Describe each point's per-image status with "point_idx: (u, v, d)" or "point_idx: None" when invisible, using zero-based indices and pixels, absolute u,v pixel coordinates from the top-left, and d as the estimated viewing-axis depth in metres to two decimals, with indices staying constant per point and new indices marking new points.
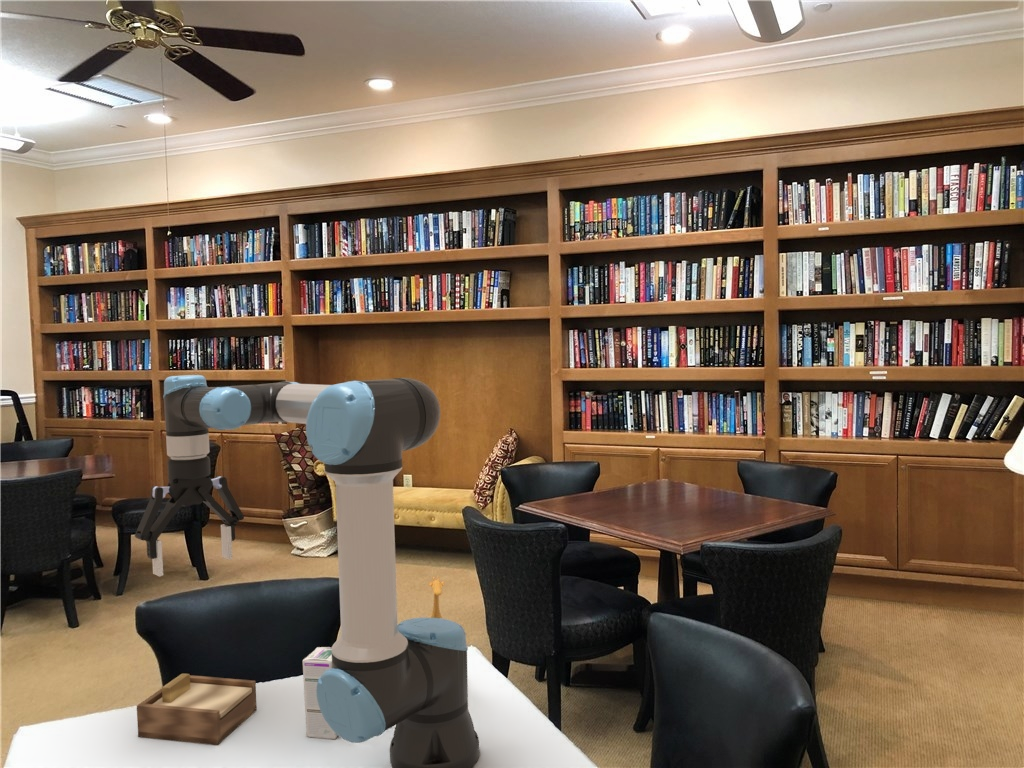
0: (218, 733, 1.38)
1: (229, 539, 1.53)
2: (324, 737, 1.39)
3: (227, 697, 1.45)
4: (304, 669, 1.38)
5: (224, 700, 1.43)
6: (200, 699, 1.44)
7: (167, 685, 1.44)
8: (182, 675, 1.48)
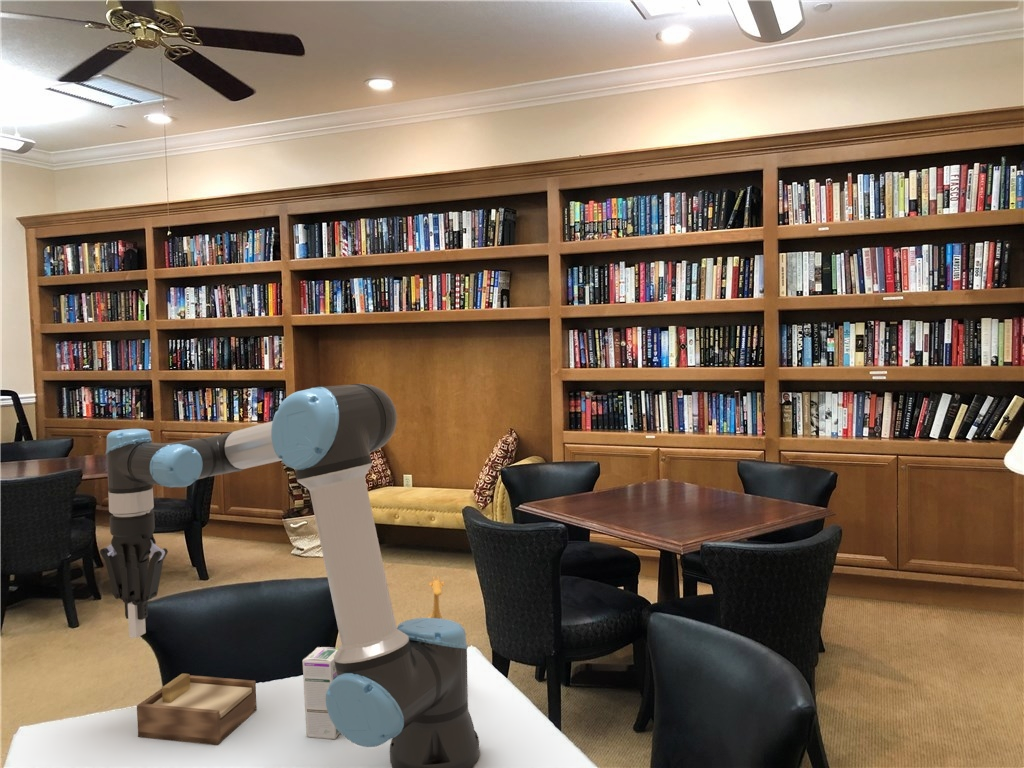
0: (218, 733, 1.38)
1: (133, 617, 1.45)
2: (324, 737, 1.39)
3: (227, 697, 1.45)
4: (304, 669, 1.38)
5: (224, 700, 1.43)
6: (200, 699, 1.44)
7: (167, 685, 1.44)
8: (182, 675, 1.48)
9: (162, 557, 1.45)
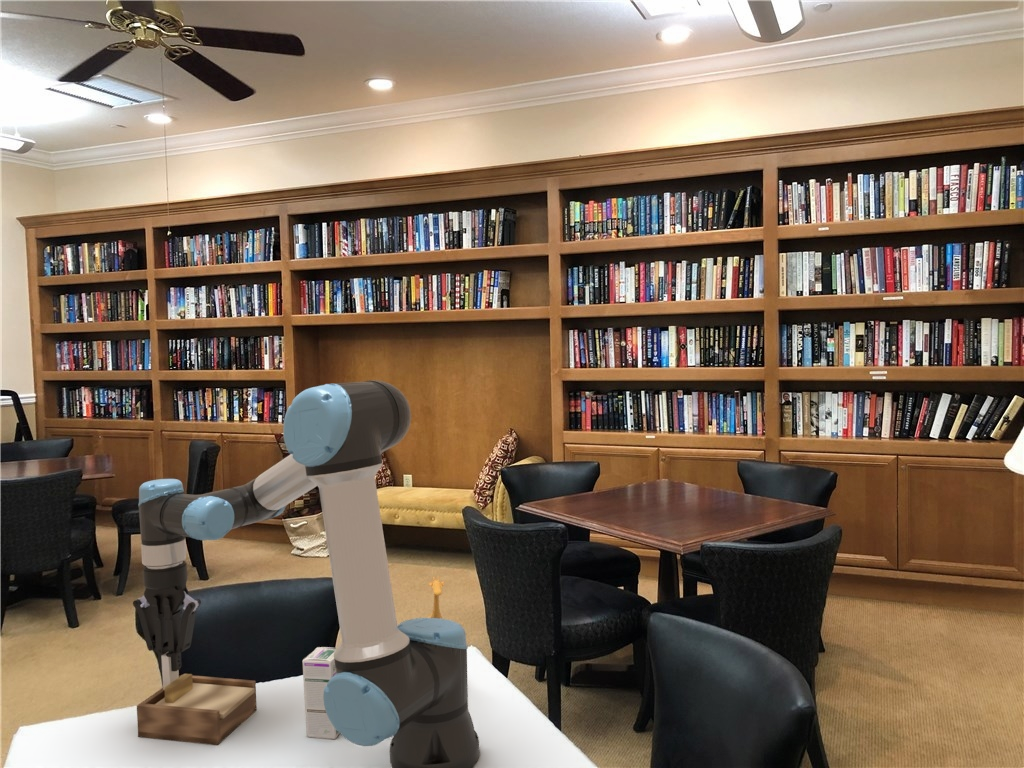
0: (218, 733, 1.38)
1: (167, 669, 1.44)
2: (324, 737, 1.39)
3: (230, 697, 1.44)
4: (304, 669, 1.38)
5: (226, 700, 1.43)
6: (202, 700, 1.44)
7: (169, 685, 1.44)
8: (184, 675, 1.48)
9: (196, 608, 1.44)
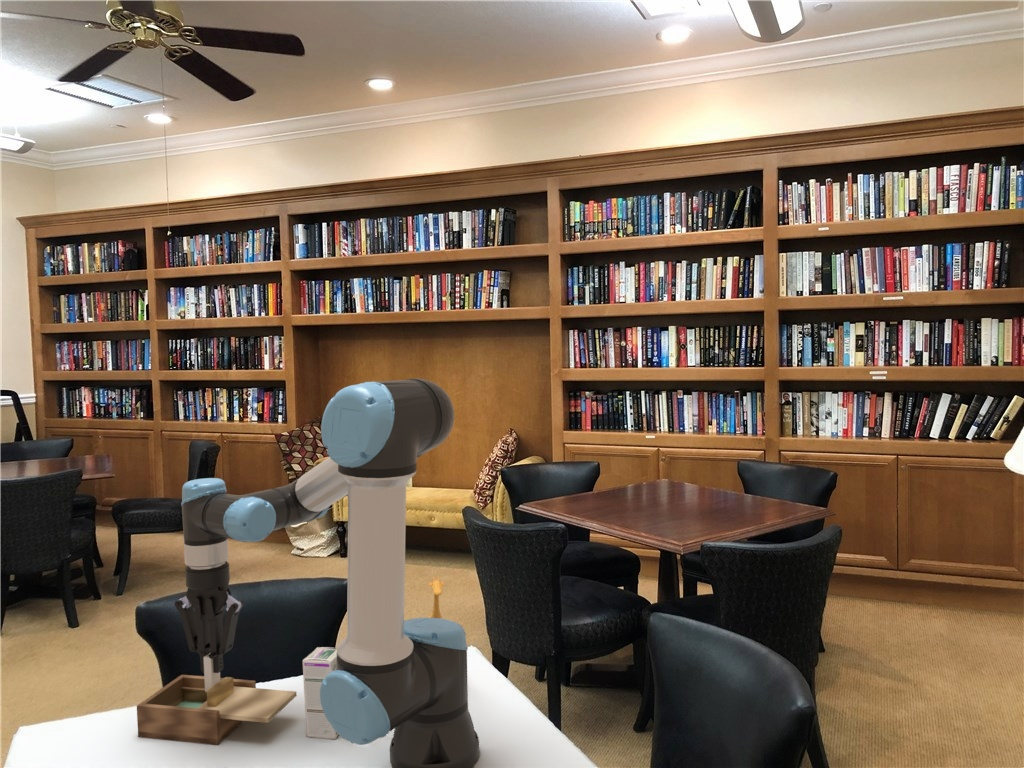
0: (218, 733, 1.38)
1: (209, 670, 1.43)
2: (324, 737, 1.39)
3: (272, 701, 1.43)
4: (304, 669, 1.38)
5: (269, 704, 1.41)
6: (245, 704, 1.42)
7: (212, 689, 1.42)
8: (226, 679, 1.46)
9: (238, 609, 1.42)
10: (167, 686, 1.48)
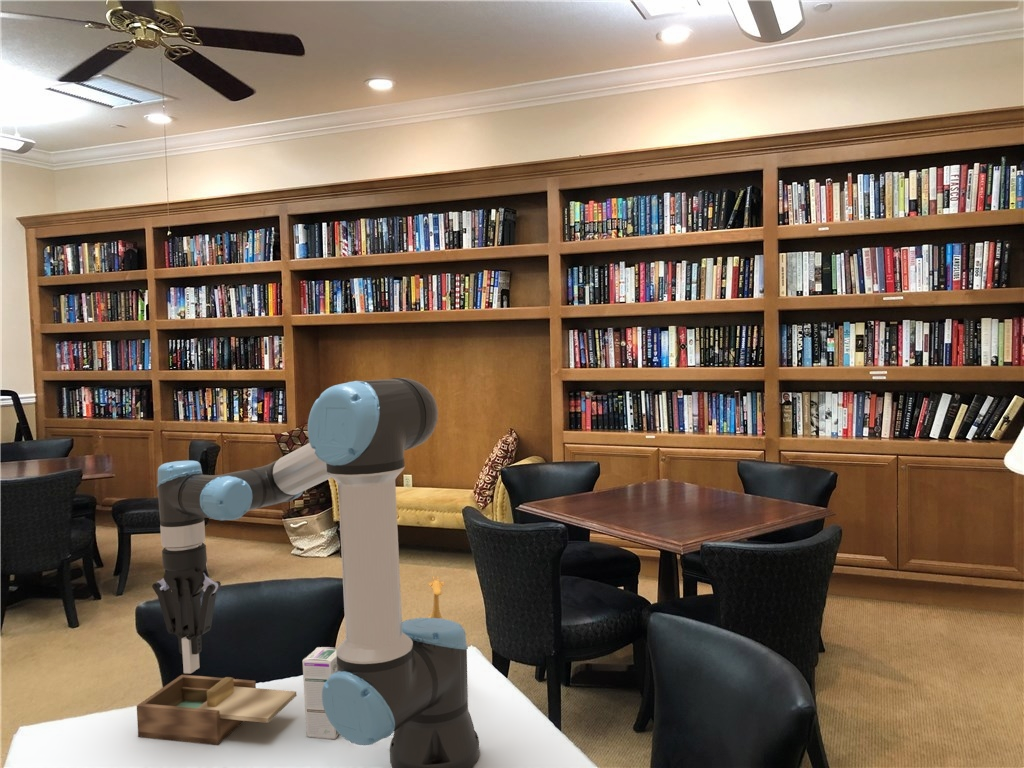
0: (218, 733, 1.38)
1: (187, 652, 1.43)
2: (324, 737, 1.39)
3: (272, 701, 1.43)
4: (304, 669, 1.38)
5: (269, 704, 1.41)
6: (245, 704, 1.42)
7: (212, 689, 1.42)
8: (226, 679, 1.46)
9: (215, 590, 1.43)
10: (167, 686, 1.48)
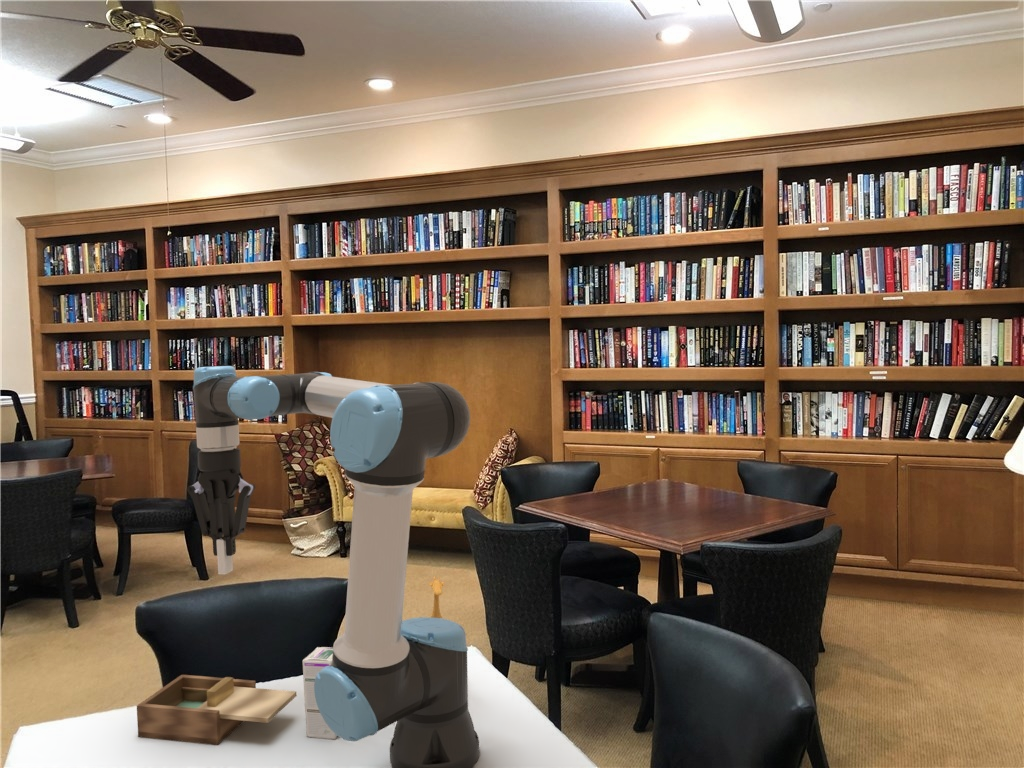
0: (218, 733, 1.38)
1: (222, 553, 1.46)
2: (324, 737, 1.39)
3: (272, 701, 1.43)
4: (304, 669, 1.38)
5: (269, 704, 1.41)
6: (245, 704, 1.42)
7: (212, 689, 1.42)
8: (226, 679, 1.46)
9: (250, 492, 1.46)
10: (167, 686, 1.48)
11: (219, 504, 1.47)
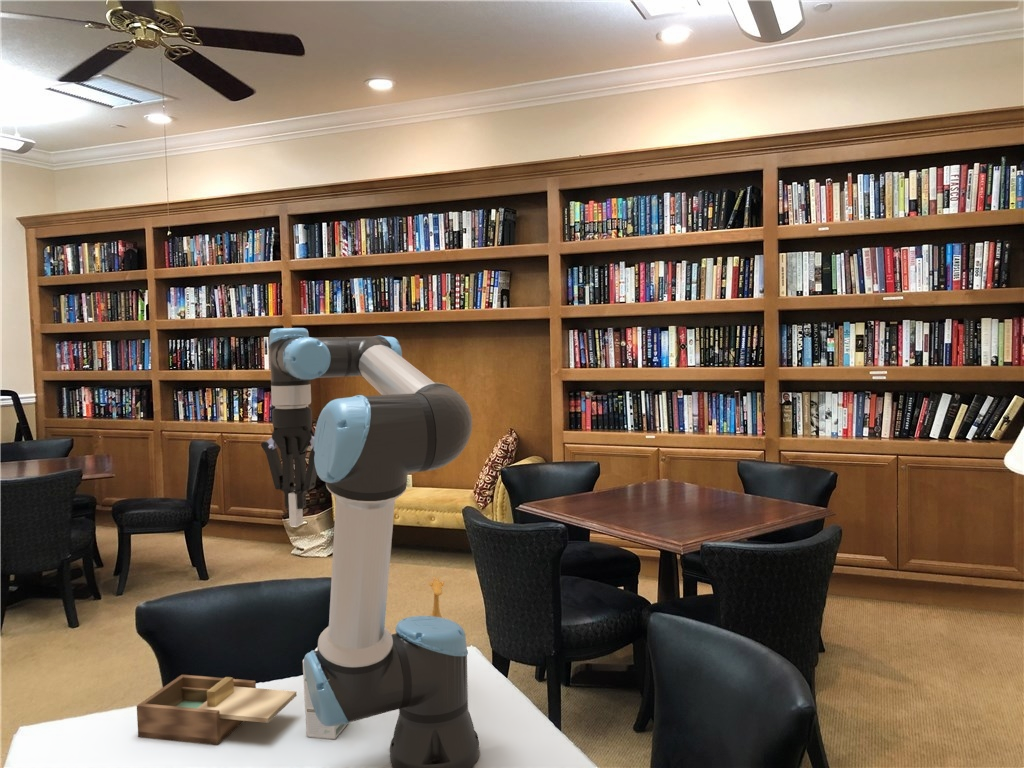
0: (218, 733, 1.38)
1: (293, 506, 1.53)
2: (324, 737, 1.39)
3: (272, 701, 1.43)
4: (304, 669, 1.38)
5: (269, 704, 1.41)
6: (245, 704, 1.42)
7: (212, 689, 1.42)
8: (226, 679, 1.46)
9: None
10: (167, 686, 1.48)
11: (291, 460, 1.54)
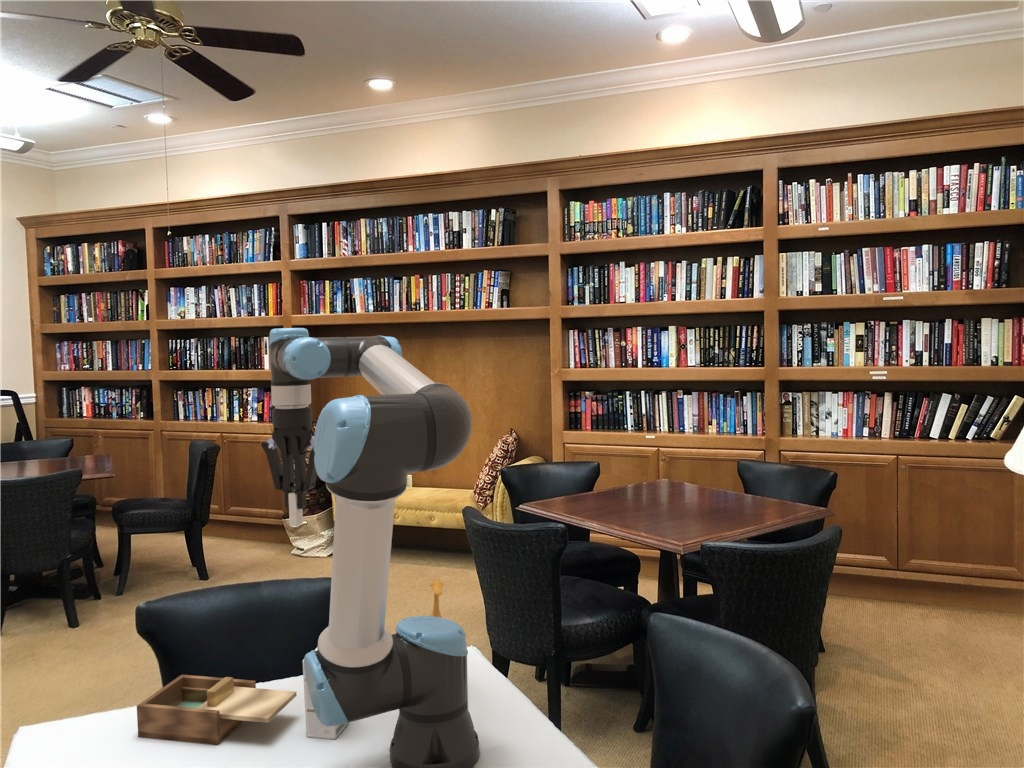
0: (218, 733, 1.38)
1: (293, 506, 1.53)
2: (324, 737, 1.39)
3: (272, 701, 1.43)
4: (304, 669, 1.38)
5: (269, 704, 1.41)
6: (245, 704, 1.42)
7: (212, 689, 1.42)
8: (226, 679, 1.46)
9: None
10: (167, 686, 1.48)
11: (291, 460, 1.54)
